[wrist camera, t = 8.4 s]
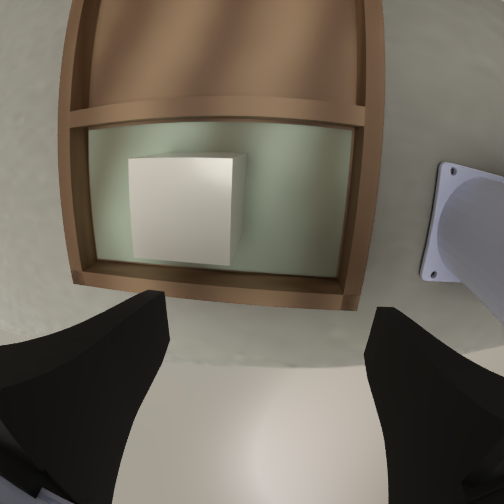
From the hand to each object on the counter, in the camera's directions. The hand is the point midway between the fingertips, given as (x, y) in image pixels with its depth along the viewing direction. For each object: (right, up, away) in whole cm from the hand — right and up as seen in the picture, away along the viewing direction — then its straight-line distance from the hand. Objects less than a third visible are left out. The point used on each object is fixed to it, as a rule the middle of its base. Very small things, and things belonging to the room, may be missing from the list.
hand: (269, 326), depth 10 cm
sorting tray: (-3, +11, +6) cm, 13 cm away
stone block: (-3, +6, +7) cm, 10 cm away
